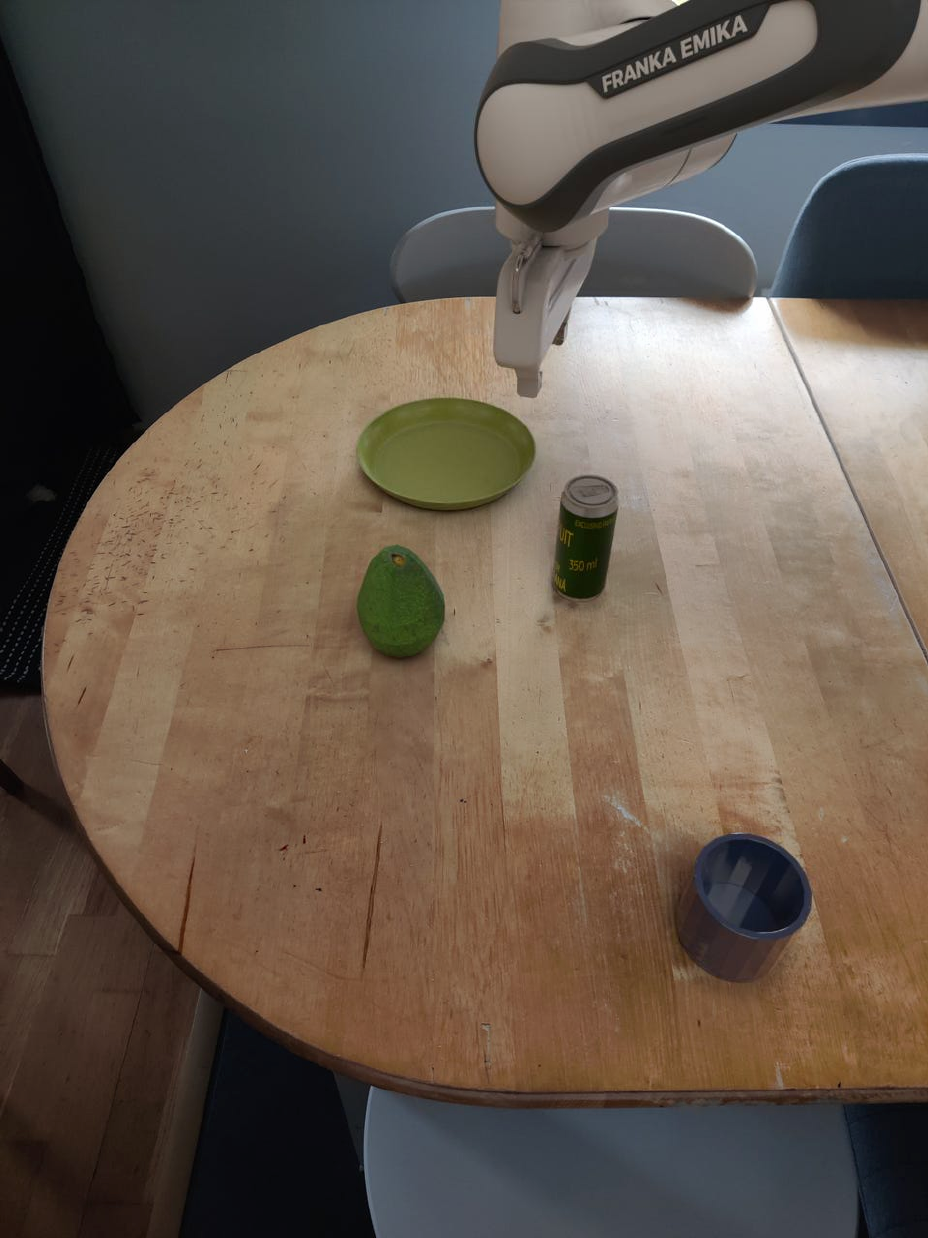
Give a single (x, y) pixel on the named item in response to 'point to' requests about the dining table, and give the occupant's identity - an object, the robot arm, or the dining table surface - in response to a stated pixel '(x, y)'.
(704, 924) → the cup
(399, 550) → the avocado
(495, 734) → the dining table surface
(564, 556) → the dark green drink can
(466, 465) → the saucer
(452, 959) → the dining table surface
